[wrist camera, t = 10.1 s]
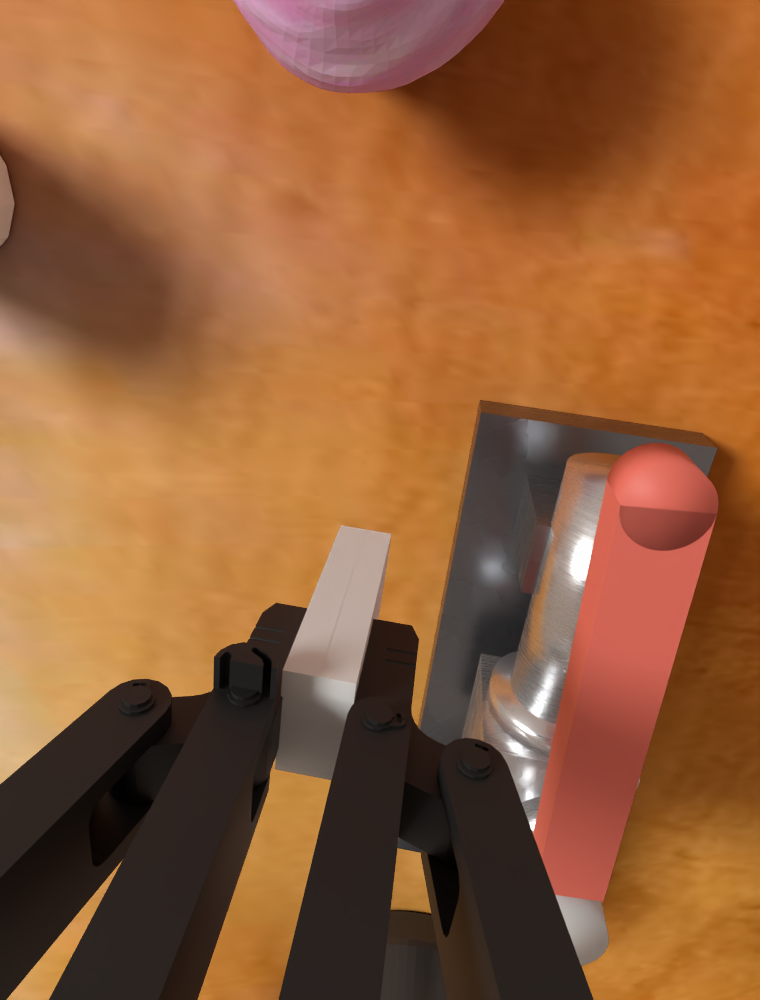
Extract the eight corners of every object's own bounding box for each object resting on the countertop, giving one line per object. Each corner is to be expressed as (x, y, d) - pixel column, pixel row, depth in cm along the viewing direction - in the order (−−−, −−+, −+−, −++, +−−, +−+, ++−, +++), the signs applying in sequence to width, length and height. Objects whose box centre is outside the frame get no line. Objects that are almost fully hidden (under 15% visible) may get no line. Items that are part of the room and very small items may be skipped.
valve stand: (555, 849, 40) (590, 1097, 29) (400, 819, 41) (374, 1050, 30) (702, 433, 29) (855, 577, 17) (480, 400, 29) (488, 518, 18)
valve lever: (589, 921, 24) (598, 974, 22) (502, 908, 24) (505, 959, 22) (725, 447, 16) (754, 473, 14) (594, 436, 16) (608, 461, 15)
